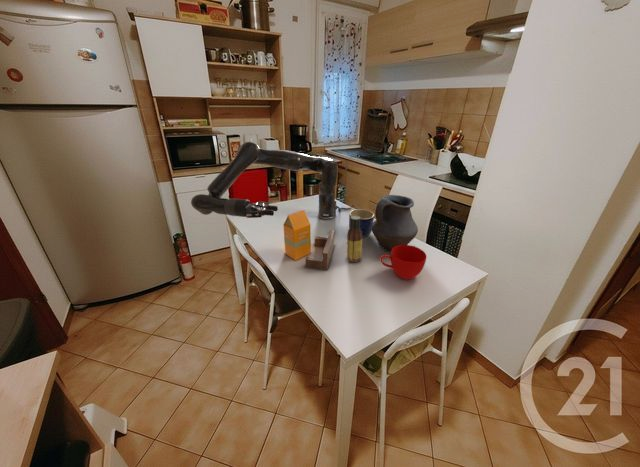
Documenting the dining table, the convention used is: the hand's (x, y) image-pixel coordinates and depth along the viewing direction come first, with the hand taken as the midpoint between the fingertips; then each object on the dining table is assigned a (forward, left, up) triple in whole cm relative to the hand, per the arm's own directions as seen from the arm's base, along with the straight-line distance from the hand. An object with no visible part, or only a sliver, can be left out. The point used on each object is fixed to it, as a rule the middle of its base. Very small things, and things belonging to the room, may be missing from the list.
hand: (275, 210), depth 110 cm
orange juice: (-7, +6, -20) cm, 22 cm away
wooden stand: (-15, +13, -20) cm, 28 cm away
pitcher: (-48, +22, -20) cm, 56 cm away
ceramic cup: (-36, +40, -20) cm, 57 cm away
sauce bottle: (-26, +22, -20) cm, 40 cm away
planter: (-44, +4, -20) cm, 48 cm away
